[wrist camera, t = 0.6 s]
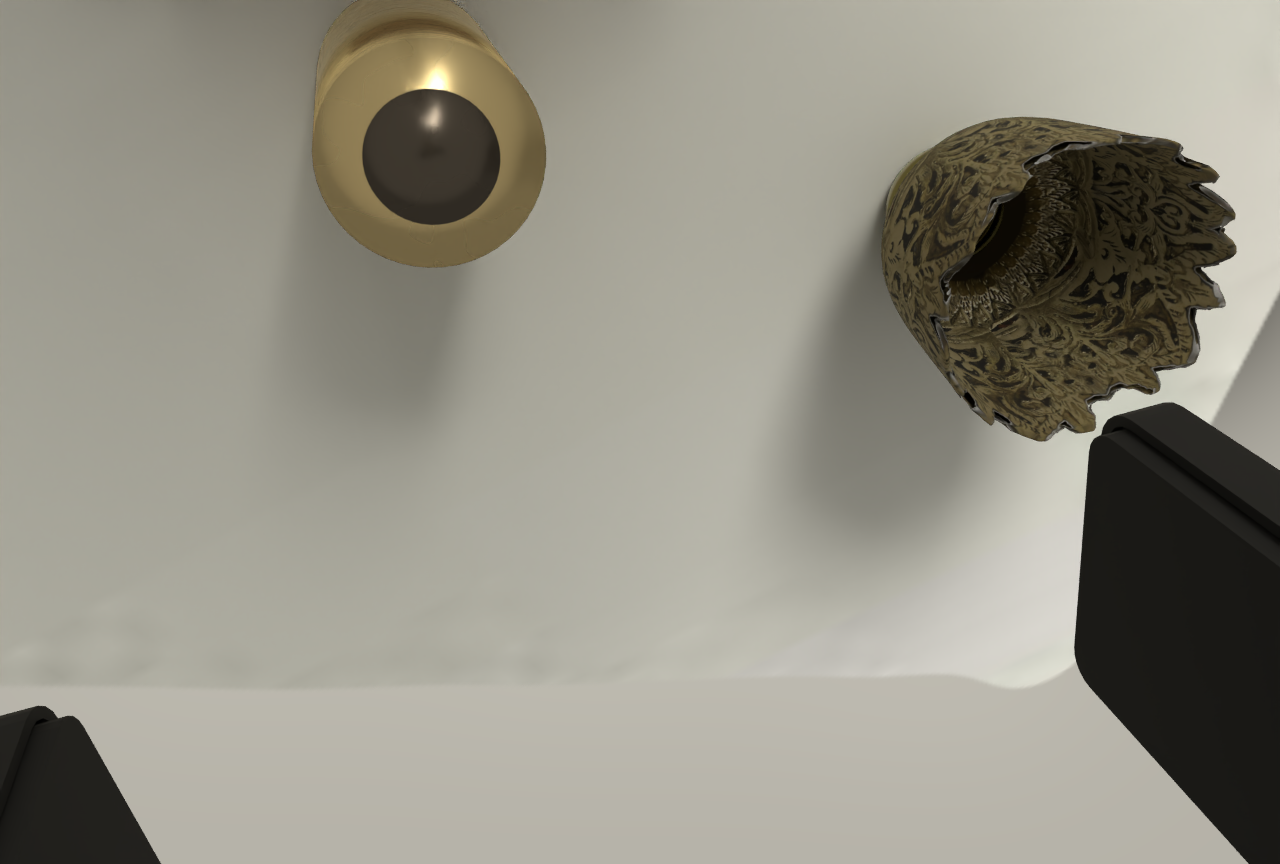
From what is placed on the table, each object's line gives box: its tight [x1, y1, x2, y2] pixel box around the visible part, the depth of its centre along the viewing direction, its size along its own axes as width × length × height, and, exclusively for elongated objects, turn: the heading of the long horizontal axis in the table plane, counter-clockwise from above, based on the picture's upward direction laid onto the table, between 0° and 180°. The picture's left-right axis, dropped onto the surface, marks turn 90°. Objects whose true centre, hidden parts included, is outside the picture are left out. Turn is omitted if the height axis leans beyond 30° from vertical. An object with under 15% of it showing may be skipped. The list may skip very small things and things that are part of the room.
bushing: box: [312, 0, 546, 268], centre depth 23 cm, size 4×4×7 cm
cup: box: [881, 117, 1236, 441], centre depth 28 cm, size 8×7×8 cm
